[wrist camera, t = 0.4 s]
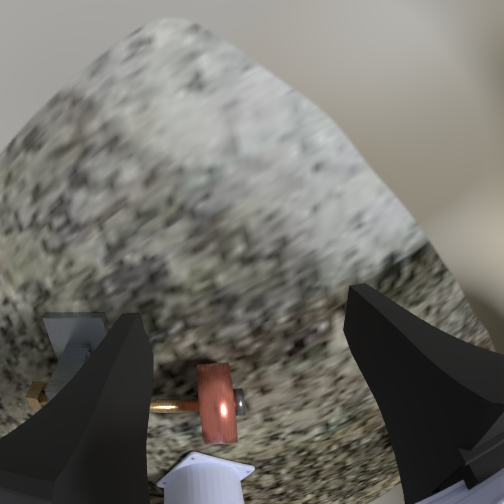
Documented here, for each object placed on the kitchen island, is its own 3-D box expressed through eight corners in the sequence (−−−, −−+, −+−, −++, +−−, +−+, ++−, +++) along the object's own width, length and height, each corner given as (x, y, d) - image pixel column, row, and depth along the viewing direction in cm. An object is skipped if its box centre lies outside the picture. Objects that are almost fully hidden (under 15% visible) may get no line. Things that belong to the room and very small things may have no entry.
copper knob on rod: (52, 399, 23) (35, 448, 17) (29, 347, 21) (1, 397, 15) (239, 399, 25) (249, 456, 20) (237, 344, 23) (249, 404, 18)
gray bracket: (88, 418, 25) (76, 469, 19) (46, 312, 21) (13, 363, 15) (137, 420, 26) (132, 474, 20) (104, 312, 21) (81, 368, 16)
